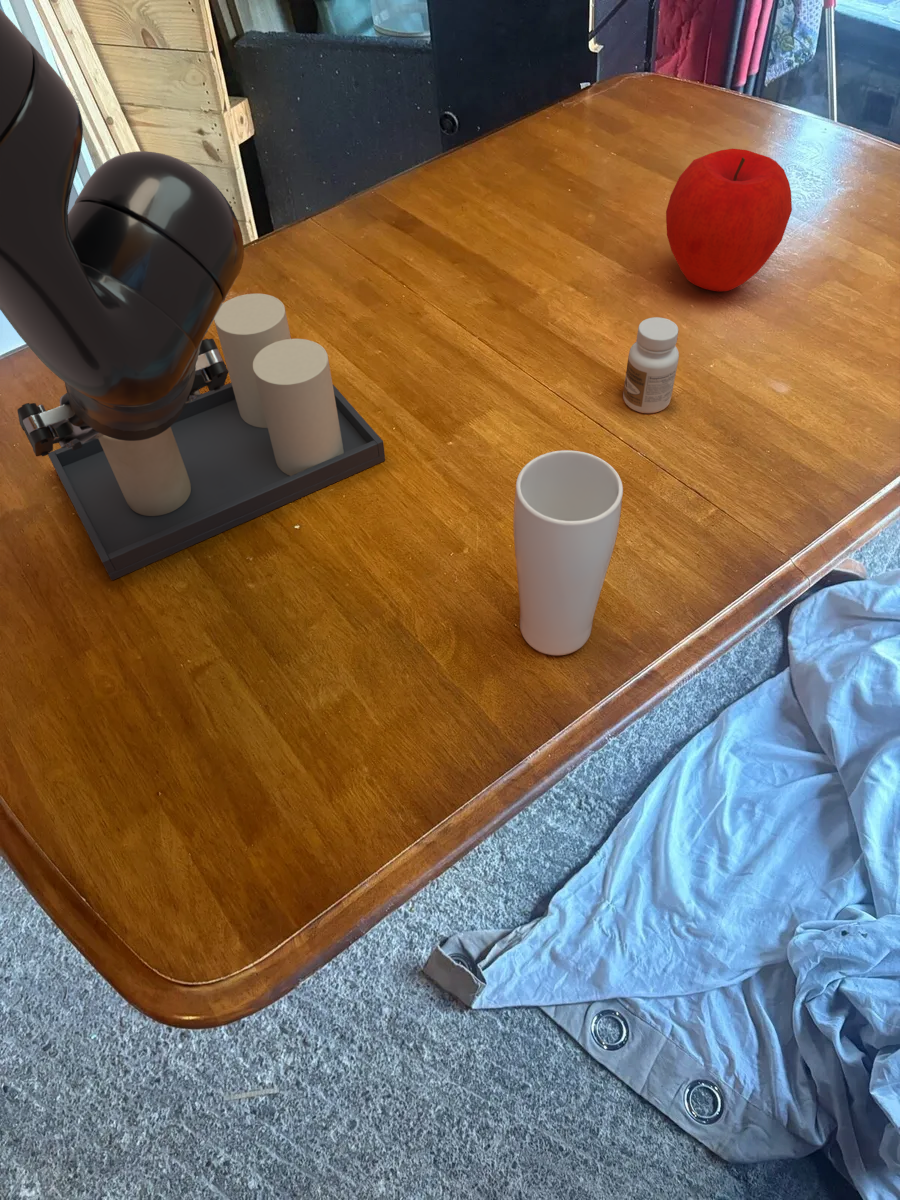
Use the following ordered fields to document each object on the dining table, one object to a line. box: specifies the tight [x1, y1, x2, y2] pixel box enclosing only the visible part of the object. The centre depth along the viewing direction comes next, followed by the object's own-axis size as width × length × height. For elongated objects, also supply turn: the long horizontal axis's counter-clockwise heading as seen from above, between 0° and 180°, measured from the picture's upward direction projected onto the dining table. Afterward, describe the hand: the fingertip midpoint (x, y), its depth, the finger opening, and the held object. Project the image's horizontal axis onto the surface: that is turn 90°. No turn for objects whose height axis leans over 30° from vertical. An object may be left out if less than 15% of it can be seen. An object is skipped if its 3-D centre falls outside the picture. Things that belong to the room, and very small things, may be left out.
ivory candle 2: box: [253, 338, 344, 476], centre depth 75 cm, size 6×6×10 cm
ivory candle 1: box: [213, 293, 292, 428], centre depth 79 cm, size 6×6×10 cm
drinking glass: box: [512, 449, 624, 656], centre depth 61 cm, size 7×7×15 cm
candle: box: [98, 427, 191, 516], centre depth 72 cm, size 6×6×10 cm
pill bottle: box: [622, 316, 680, 414], centre depth 80 cm, size 4×4×8 cm
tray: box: [47, 382, 386, 581], centre depth 78 cm, size 25×15×2 cm, turn 122°
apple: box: [665, 148, 793, 292], centre depth 89 cm, size 12×12×13 cm
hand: (124, 416), depth 69 cm, fingers open, 8 cm apart
